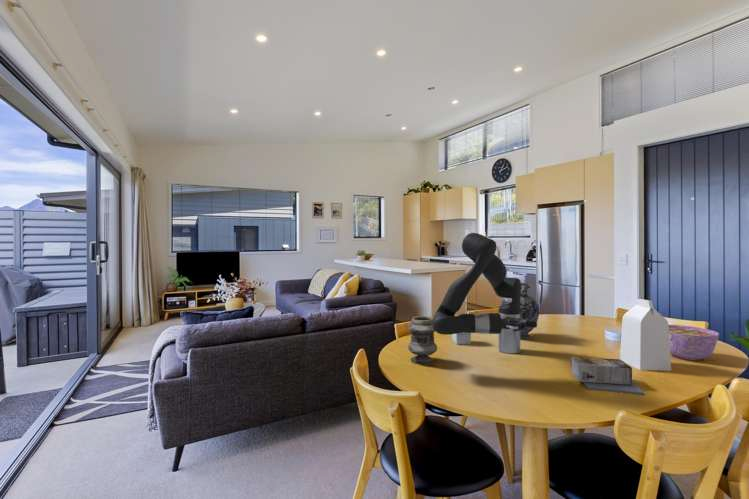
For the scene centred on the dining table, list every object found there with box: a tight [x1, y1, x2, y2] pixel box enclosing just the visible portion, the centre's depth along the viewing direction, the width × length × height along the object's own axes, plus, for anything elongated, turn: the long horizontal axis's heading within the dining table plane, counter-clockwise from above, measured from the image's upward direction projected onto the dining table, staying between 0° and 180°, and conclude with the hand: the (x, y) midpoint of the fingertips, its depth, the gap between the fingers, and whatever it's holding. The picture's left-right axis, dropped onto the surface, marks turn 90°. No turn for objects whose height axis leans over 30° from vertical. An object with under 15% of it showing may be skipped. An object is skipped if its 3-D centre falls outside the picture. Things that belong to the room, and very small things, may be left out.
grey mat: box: [582, 380, 645, 396], centre depth 125 cm, size 16×16×1 cm
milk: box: [619, 298, 672, 372], centre depth 143 cm, size 12×12×26 cm
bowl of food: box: [668, 324, 720, 361], centre depth 152 cm, size 20×20×12 cm
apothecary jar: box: [407, 315, 438, 365], centre depth 151 cm, size 12×12×18 cm
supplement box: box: [451, 333, 472, 346], centre depth 178 cm, size 7×7×13 cm
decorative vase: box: [500, 282, 540, 341], centre depth 187 cm, size 21×19×28 cm
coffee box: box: [571, 356, 633, 385], centre depth 127 cm, size 9×6×16 cm
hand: (536, 324), depth 131 cm, fingers closed
